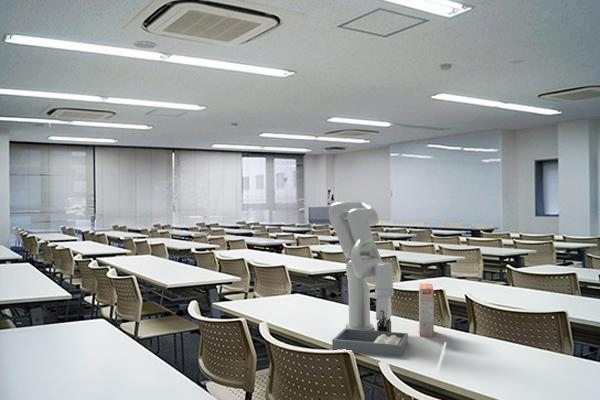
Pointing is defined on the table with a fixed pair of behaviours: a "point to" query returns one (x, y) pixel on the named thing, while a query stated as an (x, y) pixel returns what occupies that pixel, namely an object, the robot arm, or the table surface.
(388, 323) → the walnut block
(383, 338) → the egg carton
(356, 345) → the tray
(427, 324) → the cracker box
